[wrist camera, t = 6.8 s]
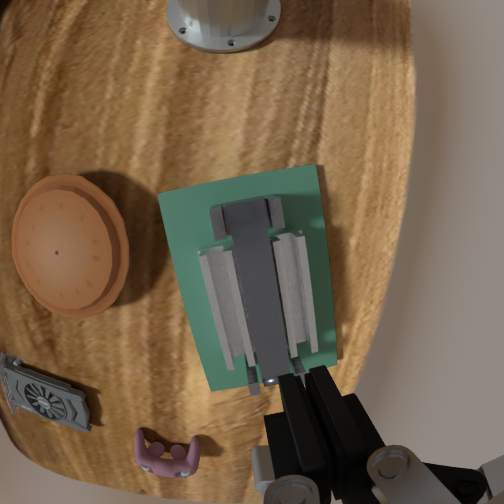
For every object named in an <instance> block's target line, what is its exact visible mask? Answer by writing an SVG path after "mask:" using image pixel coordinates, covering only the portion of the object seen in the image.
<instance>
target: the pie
mask: <svg viewBox="0 0 504 504" xmlns="http://www.w3.org/2000/svg"><path fill="white" fill-rule="evenodd" d="M12 256H13V259H14V262H15V265H16V268H17V270H18V273H19V275H20V277H21V279H22V281H23V282H24V284H25V286H26V287H27V289H28V290H29V292H30V293H31V294H32V295H33V296H34V297H35V299H36V300H37V301H38V302H39V303H40V304H41V305H43V306H44V307H46V308H47V309H49V310H50V311H51V312H53V313H54V314H58V315H61V316H64V317H67V318H70V319H71V318H86V317H90V316H93V315H97V314H100V313H103V312H104V311H105V310H106V309H107V308H108V307H110V306H111V305H112V304H113V303H114V302H115V301H116V299H117V298H118V296H119V294H120V292H121V291H122V289H123V288H124V286H125V282H126V278H127V274H128V271H129V267H130V251H129V240H128V235H127V231H126V226H125V221H124V219H123V217H122V215H121V214H120V212H119V210H118V208H117V206H116V204H115V202H114V201H113V200H112V199H111V198H110V197H109V196H108V195H107V194H106V193H105V192H103V191H102V190H101V189H100V188H99V187H98V186H96V185H95V184H93V183H92V182H90V181H89V180H87V179H86V178H84V177H83V176H78V175H72V174H65V173H64V174H58V175H53V176H47V177H45V178H44V179H42V180H41V181H39V182H38V183H36V184H35V185H33V186H32V187H31V188H30V190H29V191H28V192H27V194H26V195H25V196H24V198H23V199H22V200H21V203H20V205H19V208H18V210H17V212H16V215H15V218H14V224H13V231H12Z"/></svg>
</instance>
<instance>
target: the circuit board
mask: <svg viewBox="0 0 504 504" xmlns="http://www.w3.org/2000/svg"><path fill="white" fill-rule="evenodd" d="M269 194H271V195H275V196H278V197H280V198H281V204H282V210H283V216H284V222H285V228H280V229H274V230H273V229H272V228H268V233H269V232H274V231H280V230H285V229H290V228H295V227H297V228H299V229H300V230H302V234H303V235H304V236H305V242H306V249H307V256H308V263H309V271H310V279H311V287H312V296H313V304H314V313H315V323H316V332H317V342H318V352H314V353H311V351H310V349H309V347H308V345H307V343H306V341H304V342H300V343H296V346H297V352H298V354H299V357H300V359H301V362H302V364H303V366H304V369H305V371H306V373H308V372H309V369H310V368H314V367H318V366H321V365H325V366H326V367H331V366H335V365H337V349H336V332H335V318H334V305H333V294H332V283H331V273H330V264H329V255H328V246H327V238H326V230H325V223H324V215H323V208H322V201H321V195H320V188H319V182H318V176H317V170H316V164H314V165H307V166H300V167H293V168H287V169H281V170H274V171H268V172H262V173H257V174H251V175H245V176H240V177H235V178H229V179H224V180H219V181H214V182H209V183H204V184H200V185H195V186H190V187H186V188H181V189H177V190H172V191H168V192H164V193H160V194H158V199H159V204H160V209H161V213H162V218H163V222H164V227H165V231H166V236H167V240H168V244H169V248H170V253H171V257H172V261H173V265H174V269H175V272H176V276H177V280H178V284H179V288H180V291H181V295H182V299H183V302H184V306H185V309H186V313H187V316H188V320H189V323H190V327H191V330H192V333H193V337H194V340H195V343H196V347H197V350H198V353H199V356H200V359H201V362H202V365H203V368H204V372H205V375H206V378H207V381H208V383H209V386H210V389H211V391H218V390H225V389H231V388H237V387H242V386H248V379H247V371H246V363H245V355H238V356H234V367H235V370H229V371H228V370H227V366H226V362H225V359H224V356H223V352H222V348H221V345H220V341H219V337H218V333H217V330H216V326H215V322H214V318H213V314H212V310H211V306H210V302H209V298H208V294H207V290H206V286H205V282H204V278H203V274H202V269H201V265H200V261H199V257H198V252H197V250H198V248H199V246H203V245H208V244H213V243H218V242H223V241H228V240H233V239H232V235H231V236H228V235H227V239H223V240H218V241H215V238H214V233H213V228H212V223H211V218H210V214H209V210H210V208H211V206H212V205H216V204H221V203H226V202H231V201H236V200H241V199H247V198H252V197H258V196H263V195H269ZM254 358H255V364H256V370H257V375H258V381H259V383H263V382H262V378H261V373H260V369H259V364H258V359H257V355H256V352H254ZM290 369H291V366H290ZM291 373H293V371H292V369H291Z"/></svg>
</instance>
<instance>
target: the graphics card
mask: <svg viewBox="0 0 504 504" xmlns="http://www.w3.org/2000/svg"><path fill="white" fill-rule="evenodd" d="M1 353H2V352H1ZM8 356H9V357H8ZM23 363H27V362H26V361H24V360H21V359H19V358H17V357H14V356H12V355H10V354H3V353H2V354H0V367H1V366H2V367H3V368H2V367H1V368H2V369H1V368H0V370H1V371H2V372H3V373H4V374H3V373H2V372H1V371H0V381H1V384H2V387H3V390H4V393H5V396H6V399H7V401H8V404H9V407H10V409H11V412H12V413H14V415H15V414H16V413H17V411H16V408H17V407H18V410H19V409H20V407H21V408H23V409H25V410H27V411H30V412H32V413H34V414H37V415H39V416H42V417H44V418H47V419H49V420H52V421H54V422H57V423H60V424H62V425H65V426H68V427H71V428H74V429H77V430H80V431H83V432H86V433H89V432H90V430H91V427H92V426H91V425H90V424H88V423H89V416H90V411H89V409H88V407H87V404H86V402H85V400H84V399H85V397H86V395H85V394H84V392H83V391H81V390H77V389H74V388H71V385H70V384H67V383H64V382H61V381H59V380H56V379H53V378H50V377H48V376H45V375H43V374H40V373H37V372H35V371H32V370H30V369H28V368H27V369H25V368H23V367H21V366H20V364H23ZM1 374H2V375H3V376H2V375H1ZM4 378H5V380H4V382H3V379H4ZM6 380H7V382H6ZM4 383H7V386H5V387H4ZM8 386H9V389H8V390H7V393H6V390H5V389H7V387H8ZM28 387H29V388H28ZM9 390H10V392H11V395H12V396H11V399H10V401H9V397H10V393H9V396H7V395H8V392H9ZM12 400H13V401H12ZM11 402H12V403H11ZM10 404H11V405H10ZM14 404H15V405H14ZM12 405H13V406H14V407H13V406H12ZM51 412H52V413H53V414H52V413H51ZM76 413H78V414H77V415H76Z"/></svg>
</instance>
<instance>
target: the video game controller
mask: <svg viewBox="0 0 504 504" xmlns="http://www.w3.org/2000/svg"><path fill="white" fill-rule="evenodd" d="M134 452H135V460H136V463H137V464H138V465H139V466H140V467H141V468H143V469H144V470H146V471H148V472H150V473H152V474H155V475H158V476H163V477H171V478H177V477H187V476H190V475H193V474H194V473H195V472H196V471H197V469H198V465H199V460H200V444H199V439H198V437H196V436H194V437H193V438H192V440H191V444H190V448H189V453H186V451H185V449H184V448H183V447H182V446H181V445H173V446H172V447H171V448H170V453H171V455H172V457H173V458H174V460H172V459H164V458H159V457H160V456H162V455H163V453H164V446H163V444H161V443H160V442H153V443H152V444H151V445H150V446H149V447H148V448H146V445H145V441H144V435H143V431H142V429H138V430H137V431H136V434H135V441H134Z"/></svg>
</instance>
